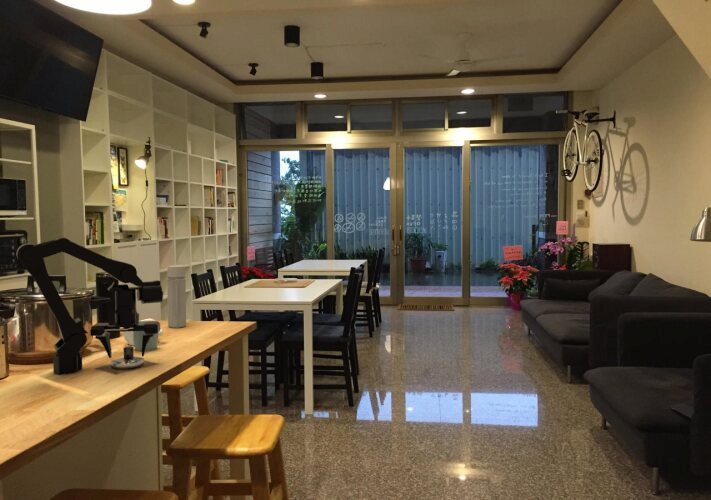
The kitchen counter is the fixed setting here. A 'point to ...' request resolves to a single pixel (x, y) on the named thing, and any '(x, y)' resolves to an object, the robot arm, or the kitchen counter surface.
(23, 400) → the kitchen counter surface
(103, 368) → the board
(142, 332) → the cup
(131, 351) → the handwheel
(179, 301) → the water bottle
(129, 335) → the mug
